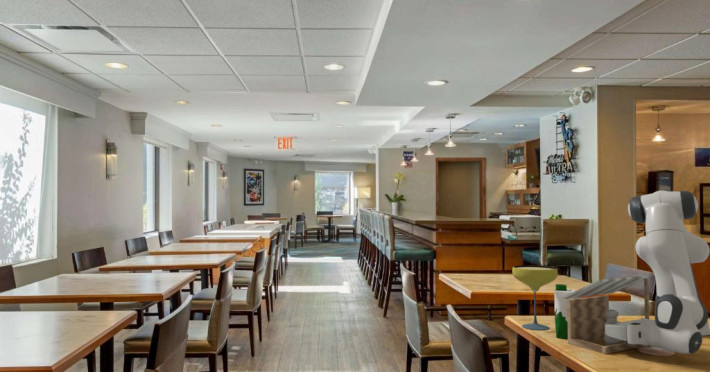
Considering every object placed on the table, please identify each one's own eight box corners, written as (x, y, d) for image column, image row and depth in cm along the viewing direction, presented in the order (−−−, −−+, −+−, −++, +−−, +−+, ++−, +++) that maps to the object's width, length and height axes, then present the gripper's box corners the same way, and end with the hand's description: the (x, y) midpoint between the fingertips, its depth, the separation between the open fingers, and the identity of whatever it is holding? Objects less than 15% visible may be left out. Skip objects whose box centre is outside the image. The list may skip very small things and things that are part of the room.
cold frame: (611, 335, 199) (610, 270, 200) (651, 345, 185) (649, 275, 186) (562, 344, 186) (561, 274, 187) (601, 355, 172) (599, 280, 173)
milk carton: (557, 333, 203) (556, 283, 204) (582, 336, 198) (581, 284, 199) (553, 338, 195) (552, 285, 196) (578, 341, 190) (577, 287, 192)
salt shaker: (623, 348, 180) (622, 311, 181) (606, 348, 181) (605, 311, 182) (618, 344, 186) (617, 308, 186) (601, 343, 187) (600, 308, 187)
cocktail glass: (509, 322, 223) (508, 265, 225) (551, 323, 222) (550, 265, 223) (518, 331, 205) (517, 269, 207) (564, 332, 204) (563, 270, 205)
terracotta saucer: (657, 347, 183) (657, 344, 183) (682, 355, 172) (682, 353, 172) (630, 348, 181) (630, 346, 181) (653, 357, 170) (653, 354, 170)
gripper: (664, 319, 177) (627, 312, 190) (628, 325, 168) (591, 317, 180) (665, 337, 177) (627, 329, 189) (628, 345, 167) (591, 336, 180)
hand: (609, 324), depth 185 cm, fingers closed on salt shaker, 3 cm apart
